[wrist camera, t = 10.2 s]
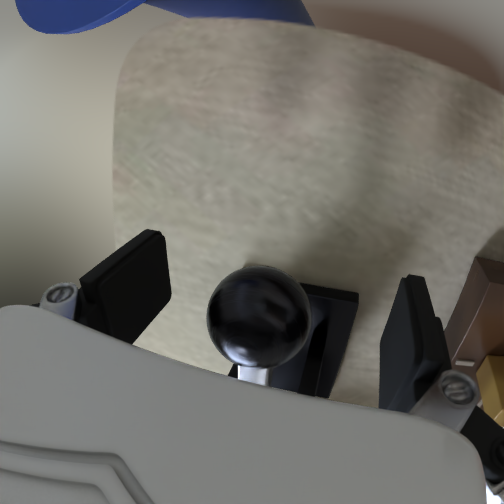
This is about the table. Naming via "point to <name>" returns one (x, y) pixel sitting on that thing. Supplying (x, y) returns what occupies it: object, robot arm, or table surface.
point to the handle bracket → (318, 344)
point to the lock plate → (478, 319)
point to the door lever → (259, 320)
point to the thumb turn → (492, 387)
